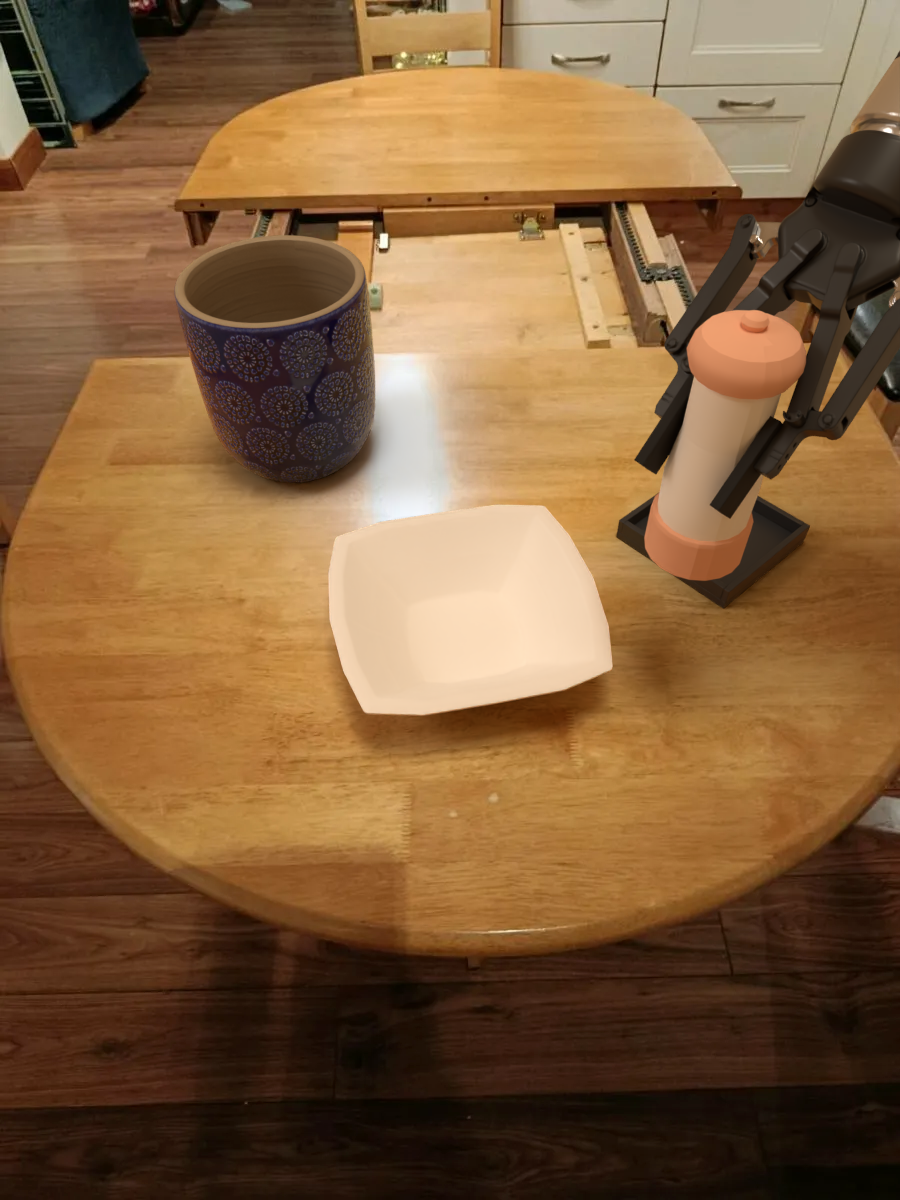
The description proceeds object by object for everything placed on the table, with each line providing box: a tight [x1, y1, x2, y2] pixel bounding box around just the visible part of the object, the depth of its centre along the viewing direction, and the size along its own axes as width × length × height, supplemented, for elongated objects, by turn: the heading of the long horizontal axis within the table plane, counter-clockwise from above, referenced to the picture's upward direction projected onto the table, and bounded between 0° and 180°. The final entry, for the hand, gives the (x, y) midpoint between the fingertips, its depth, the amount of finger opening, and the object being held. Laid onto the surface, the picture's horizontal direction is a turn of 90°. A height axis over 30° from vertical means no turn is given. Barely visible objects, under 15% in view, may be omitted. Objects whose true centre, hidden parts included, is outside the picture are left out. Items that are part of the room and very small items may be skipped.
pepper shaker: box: [644, 310, 807, 581], centre depth 57 cm, size 7×7×19 cm
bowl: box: [327, 503, 614, 717], centre depth 75 cm, size 22×23×6 cm
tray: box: [615, 492, 811, 609], centre depth 85 cm, size 13×13×2 cm
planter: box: [173, 234, 376, 483], centre depth 88 cm, size 18×18×21 cm
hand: (682, 488), depth 57 cm, fingers closed on pepper shaker, 5 cm apart
